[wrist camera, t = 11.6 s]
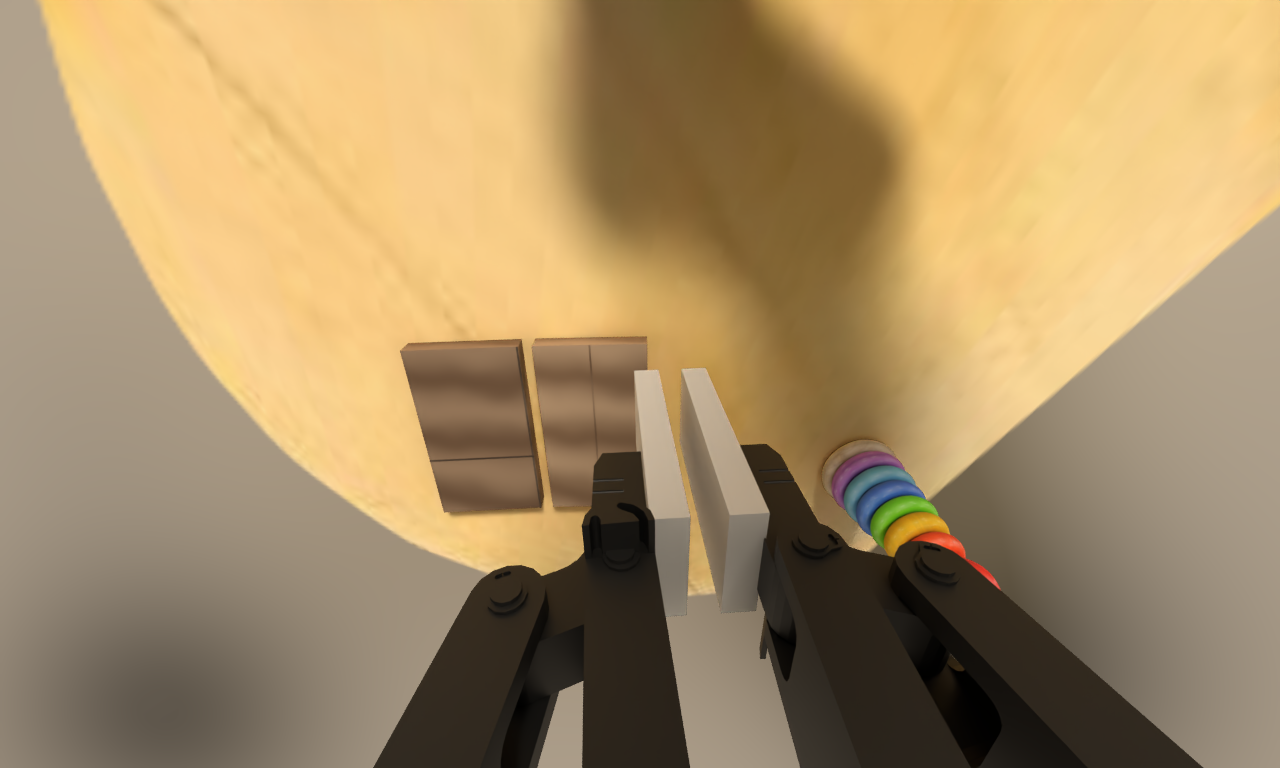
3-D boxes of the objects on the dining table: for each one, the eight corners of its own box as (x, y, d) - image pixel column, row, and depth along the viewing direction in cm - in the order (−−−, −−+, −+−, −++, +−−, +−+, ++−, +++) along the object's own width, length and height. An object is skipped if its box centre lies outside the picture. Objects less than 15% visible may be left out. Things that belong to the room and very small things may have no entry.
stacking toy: (857, 504, 52) (973, 668, 36) (804, 479, 50) (900, 640, 34) (906, 454, 50) (1057, 606, 33) (851, 424, 47) (983, 571, 31)
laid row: (408, 343, 41) (399, 351, 39) (521, 339, 41) (517, 346, 40) (449, 500, 49) (444, 512, 47) (543, 495, 49) (541, 507, 48)
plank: (535, 338, 41) (531, 346, 40) (646, 336, 41) (646, 344, 40) (555, 495, 49) (553, 507, 48) (648, 493, 49) (649, 505, 48)
